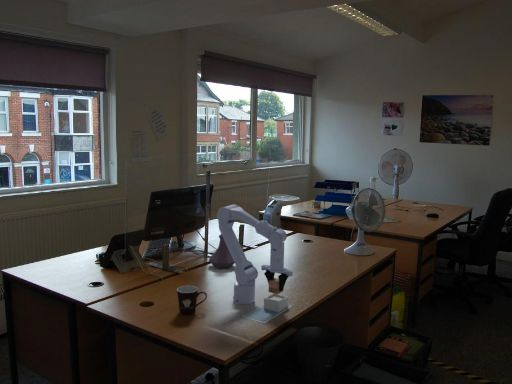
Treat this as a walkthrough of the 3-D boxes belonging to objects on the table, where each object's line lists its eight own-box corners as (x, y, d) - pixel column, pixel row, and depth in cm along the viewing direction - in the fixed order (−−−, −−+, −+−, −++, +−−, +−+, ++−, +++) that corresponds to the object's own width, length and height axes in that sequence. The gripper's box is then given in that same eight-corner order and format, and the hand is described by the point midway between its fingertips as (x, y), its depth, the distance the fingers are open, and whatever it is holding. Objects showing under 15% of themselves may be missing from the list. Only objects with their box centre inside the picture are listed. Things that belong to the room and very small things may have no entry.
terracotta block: (277, 294, 193) (277, 282, 192) (268, 292, 195) (268, 280, 195) (283, 291, 197) (283, 279, 196) (274, 289, 199) (274, 277, 198)
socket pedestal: (278, 312, 192) (279, 301, 192) (263, 308, 196) (264, 297, 196) (288, 306, 198) (288, 296, 198) (273, 302, 202) (273, 292, 202)
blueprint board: (264, 325, 181) (264, 323, 181) (241, 318, 187) (241, 316, 187) (292, 308, 199) (292, 306, 199) (270, 302, 205) (270, 300, 205)
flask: (213, 272, 245) (213, 235, 242) (204, 263, 260) (204, 229, 257) (242, 269, 251) (242, 233, 248) (231, 260, 266) (231, 226, 263)
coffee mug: (173, 314, 190) (172, 291, 189) (183, 306, 198) (183, 284, 196) (198, 319, 186) (198, 295, 184) (207, 311, 194) (208, 288, 192)
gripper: (257, 257, 195) (256, 288, 197) (287, 263, 187) (286, 295, 189) (266, 253, 201) (266, 283, 203) (295, 259, 193) (294, 290, 194)
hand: (276, 289), depth 196 cm, fingers closed on terracotta block, 4 cm apart
